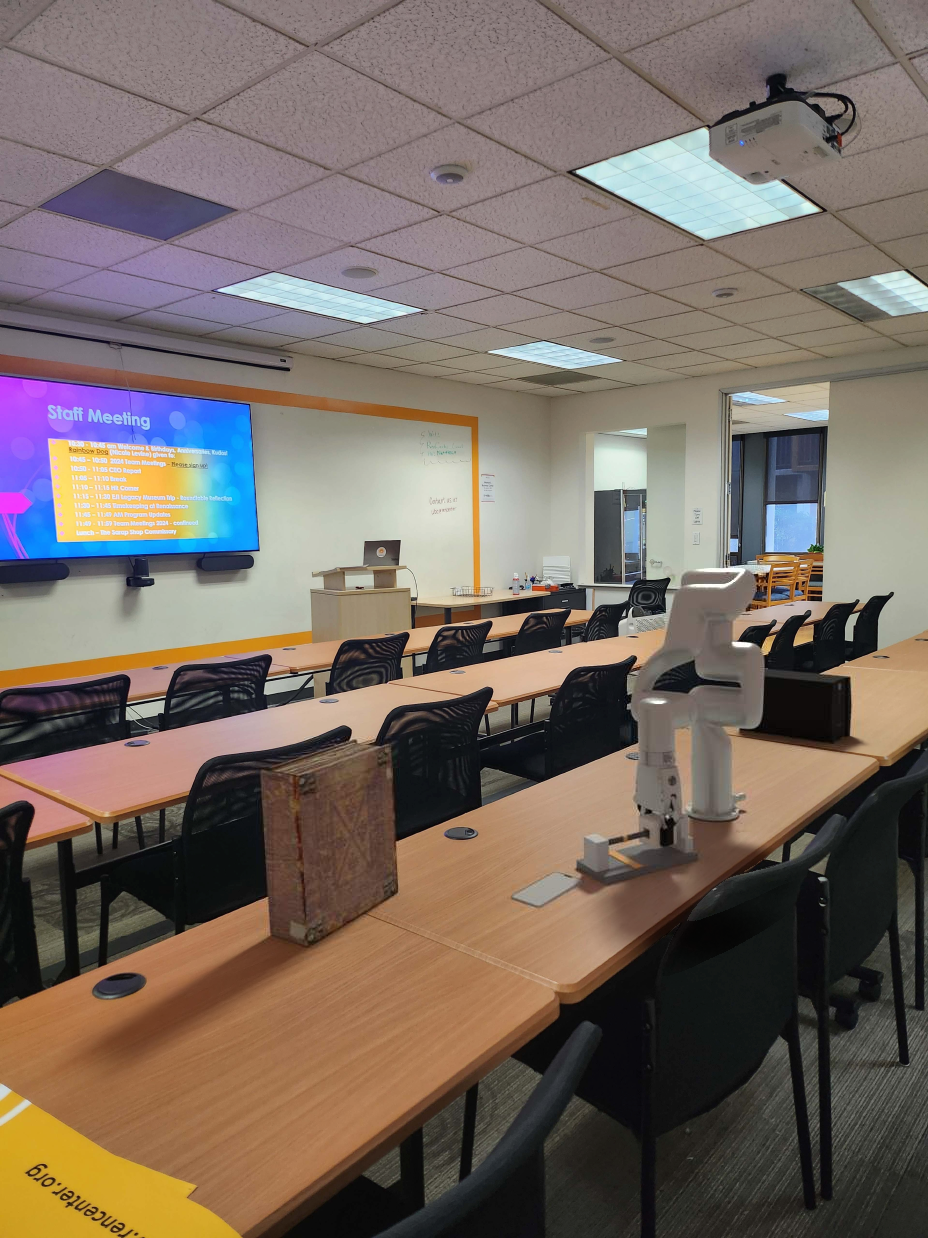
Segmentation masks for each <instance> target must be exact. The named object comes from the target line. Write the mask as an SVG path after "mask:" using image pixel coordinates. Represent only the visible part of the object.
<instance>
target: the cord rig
mask: <svg viewBox="0 0 928 1238" xmlns="http://www.w3.org/2000/svg"><path fill="white" fill-rule="evenodd" d="M681 811H682V813H683V816H684V817H683V818H682V819H681V820H680V821H678V823H677V843H676V844H673V845H669V846H665V847H661V848H657V849H653V848H651V847H649V846H647V845H645V844H643V843H641V844H636V845H633V846H628V847H625V848H621V849H620V848H619V849H615V850H610V846H614V845H617V844H620V843H622V844H623V843H627V842H629V841H632V840H637V839H638V840H639V838H642V837H646V836H650V830H645V831H641V832H639V831H637V832H633V833H629V834H623V835H620V836H617V837H613V838H608V839H607V838H605V837H603V836H602V835H600V834H597V833H593V834H588V835H584V836H583V858H581V859H576V868H577V869H579V870H580V871H582V872H583V873H585V874H587V875H589V876H591V877H592V878H594V879H595V880H598V882H601V883H603V884H604V885H607V884H612V883H615V882H619V881H623V880H627V879H631V878H634V877H637V876H642V875H646V874H648V873H653V872H656V871H660V870H664V869H668V868H671V867H676V866H679V865H683V864H687V863H689V862H695V861H698V860H699V852H697V851H695V849H694V837H692V836H690V835H689V815H688V813H687V812H686V811H684V810H683V809H682V810H681Z"/></svg>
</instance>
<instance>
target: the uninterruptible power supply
mask: <svg viewBox="0 0 928 1238" xmlns="http://www.w3.org/2000/svg"><path fill="white" fill-rule="evenodd" d="M851 681H852V680H851V676H846V675H838V674H837V675H835V674H824V673H815V672H805V671H804V672H802V671H792V670H782V669H771V668H770V669H769V668H764V693H763V713H762V719H761V722H760V724H759V725H758V726H757V727H755V728H752V729H744V728H738V729H739V731H745V732H752V733H759V734H765V735H772V736H779V737H784V738H790V739H791V738H792V739H798V740H805V741H809V742H810V741H811V742H817V743H825V744H830V745H831V744H832V745H833V744H835V743H836V742H837V741H839V740H841V739H844V738H846V737H847V738H848V737H851V726H852V725H851V724H852V708H853V707H852V706H853V705H852V701H853V700H852V684H851V683H852V682H851ZM737 688H741V685H740V683H739V682H738V687H737Z"/></svg>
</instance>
